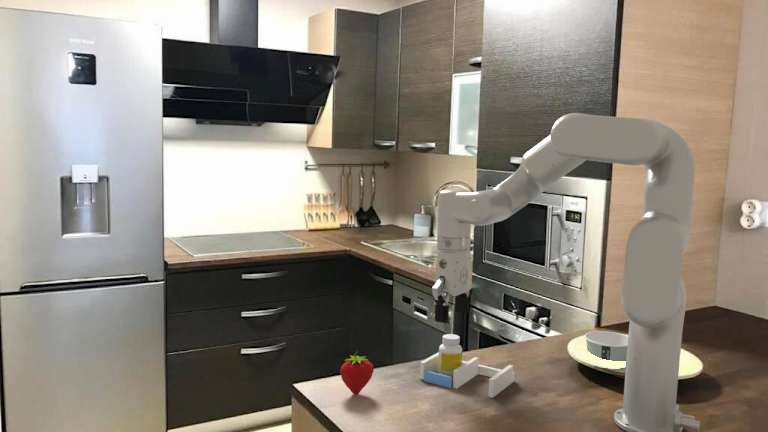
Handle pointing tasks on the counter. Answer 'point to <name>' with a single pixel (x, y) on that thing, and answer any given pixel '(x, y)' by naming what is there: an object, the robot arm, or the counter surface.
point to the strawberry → (356, 373)
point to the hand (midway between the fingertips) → (451, 317)
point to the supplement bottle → (449, 355)
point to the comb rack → (466, 374)
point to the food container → (607, 345)
